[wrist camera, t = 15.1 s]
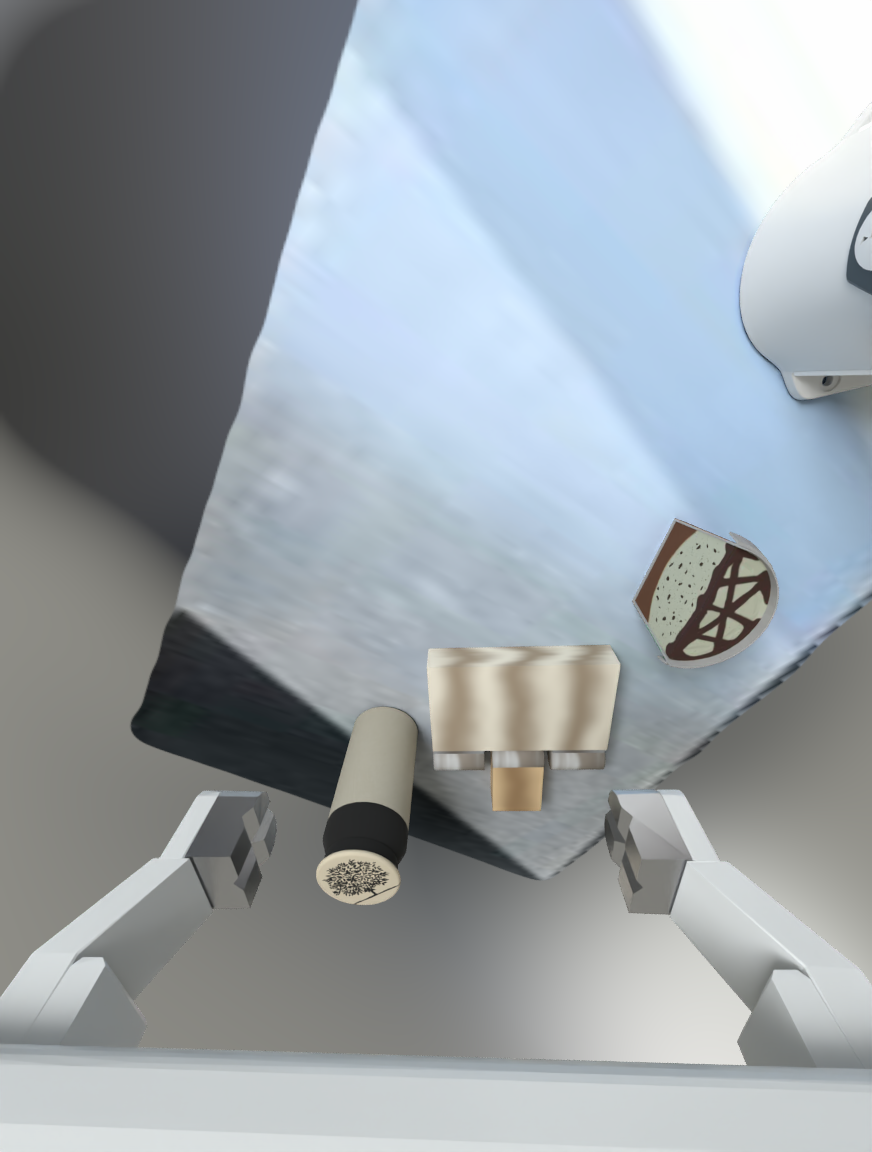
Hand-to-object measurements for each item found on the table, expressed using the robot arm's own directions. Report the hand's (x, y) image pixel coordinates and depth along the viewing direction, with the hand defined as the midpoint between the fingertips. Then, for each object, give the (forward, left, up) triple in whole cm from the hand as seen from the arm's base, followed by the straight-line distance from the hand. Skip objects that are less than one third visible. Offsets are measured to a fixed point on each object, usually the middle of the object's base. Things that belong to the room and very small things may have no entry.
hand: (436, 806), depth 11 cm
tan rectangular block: (-7, +36, -34) cm, 51 cm away
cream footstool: (-7, +27, -34) cm, 44 cm away
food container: (-23, +10, -34) cm, 43 cm away
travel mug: (+9, +31, -34) cm, 47 cm away
